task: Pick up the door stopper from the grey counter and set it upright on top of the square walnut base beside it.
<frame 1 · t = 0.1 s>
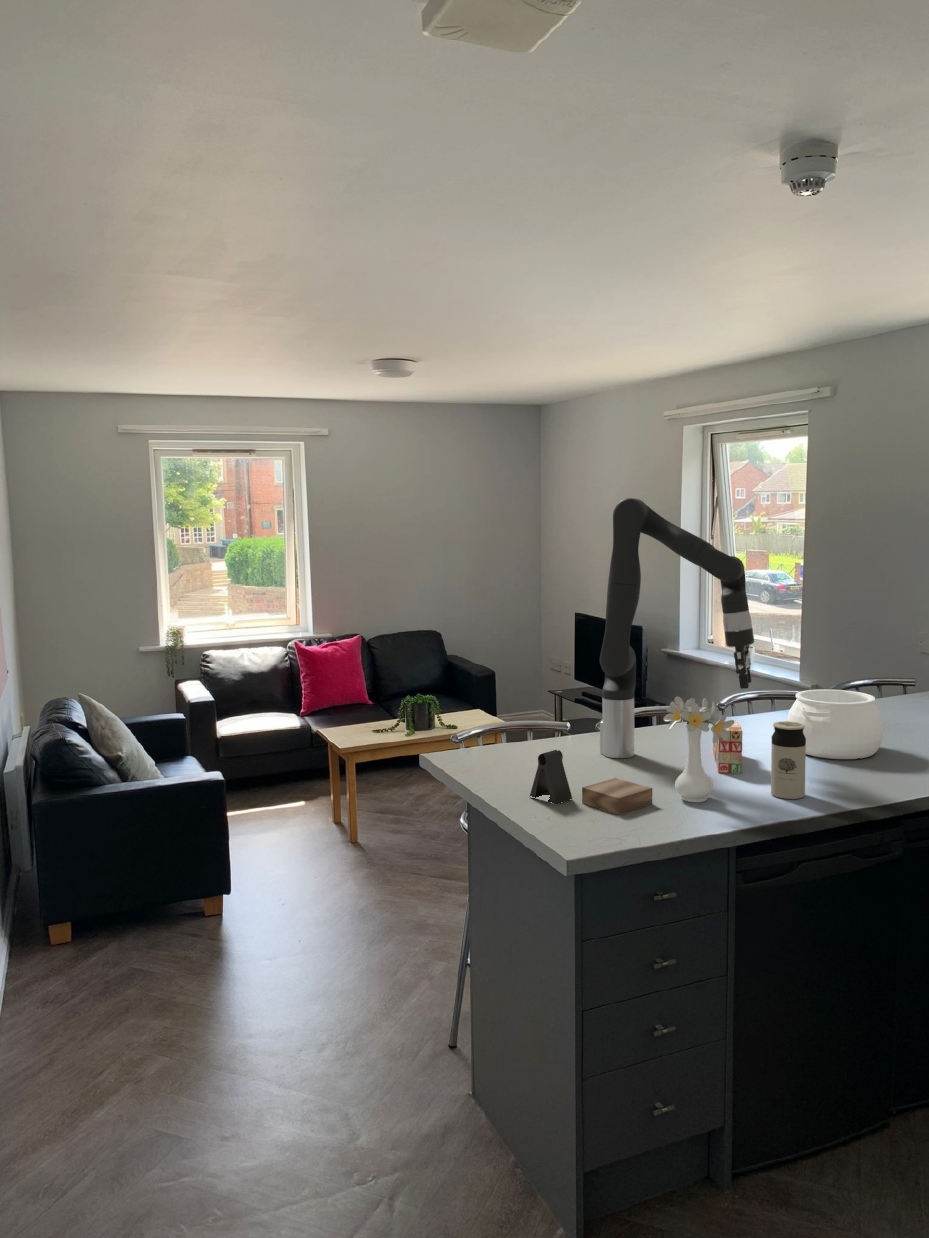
hand: (746, 685, 252), 23 cm above the worktop, tool pointing down, fingers open, 8 cm apart
travel mug: (787, 795, 226), on the worktop
walnut base: (617, 803, 223), on the worktop
pot: (833, 751, 267), on the worktop
door stopper: (550, 799, 228), on the worktop
flower vase: (697, 800, 225), on the worktop
stack of blocks: (726, 764, 257), on the worktop
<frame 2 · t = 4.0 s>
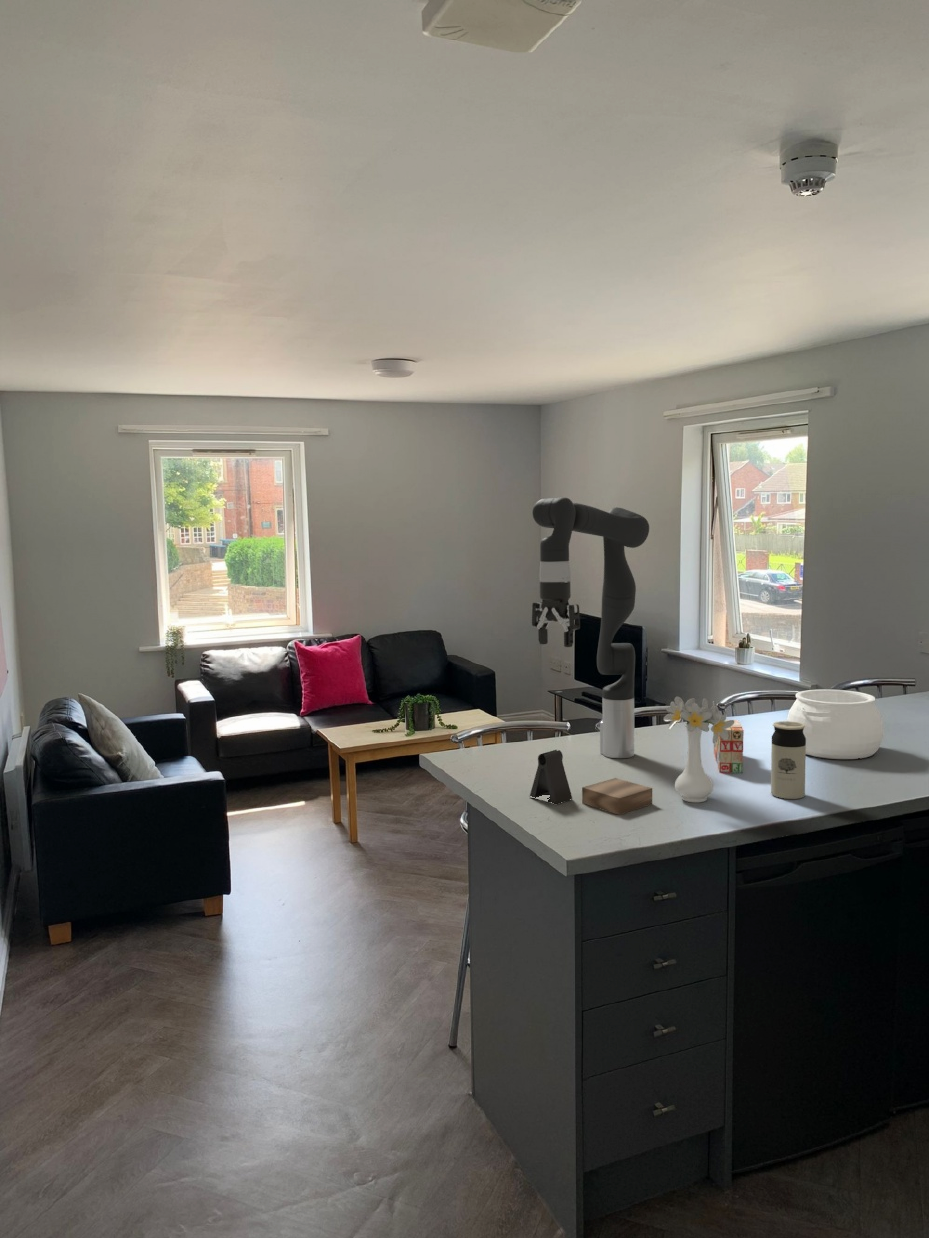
hand: (555, 645, 224), 39 cm above the worktop, tool pointing down, fingers open, 8 cm apart
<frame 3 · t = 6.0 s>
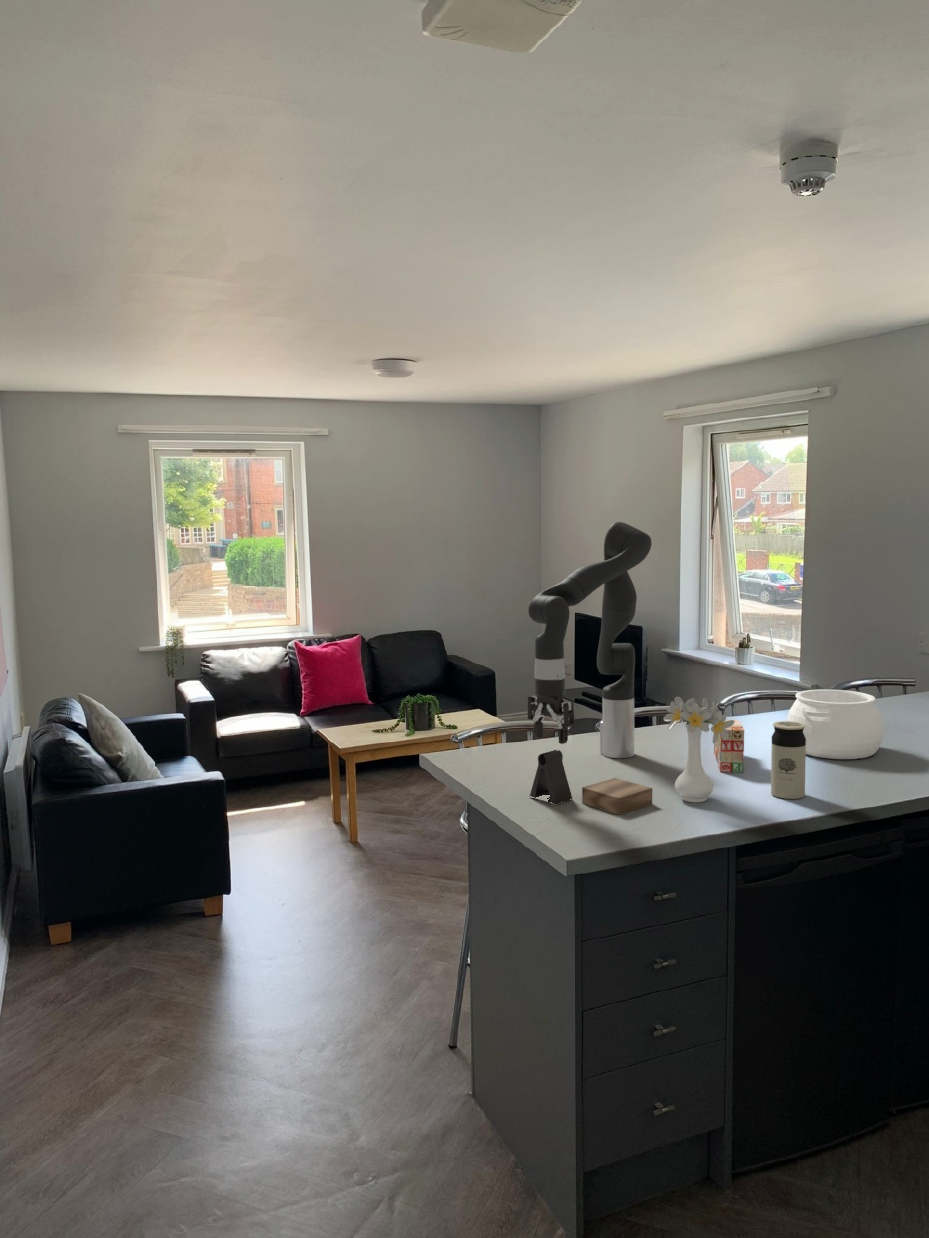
hand: (550, 740, 226), 15 cm above the worktop, tool pointing down, fingers open, 8 cm apart
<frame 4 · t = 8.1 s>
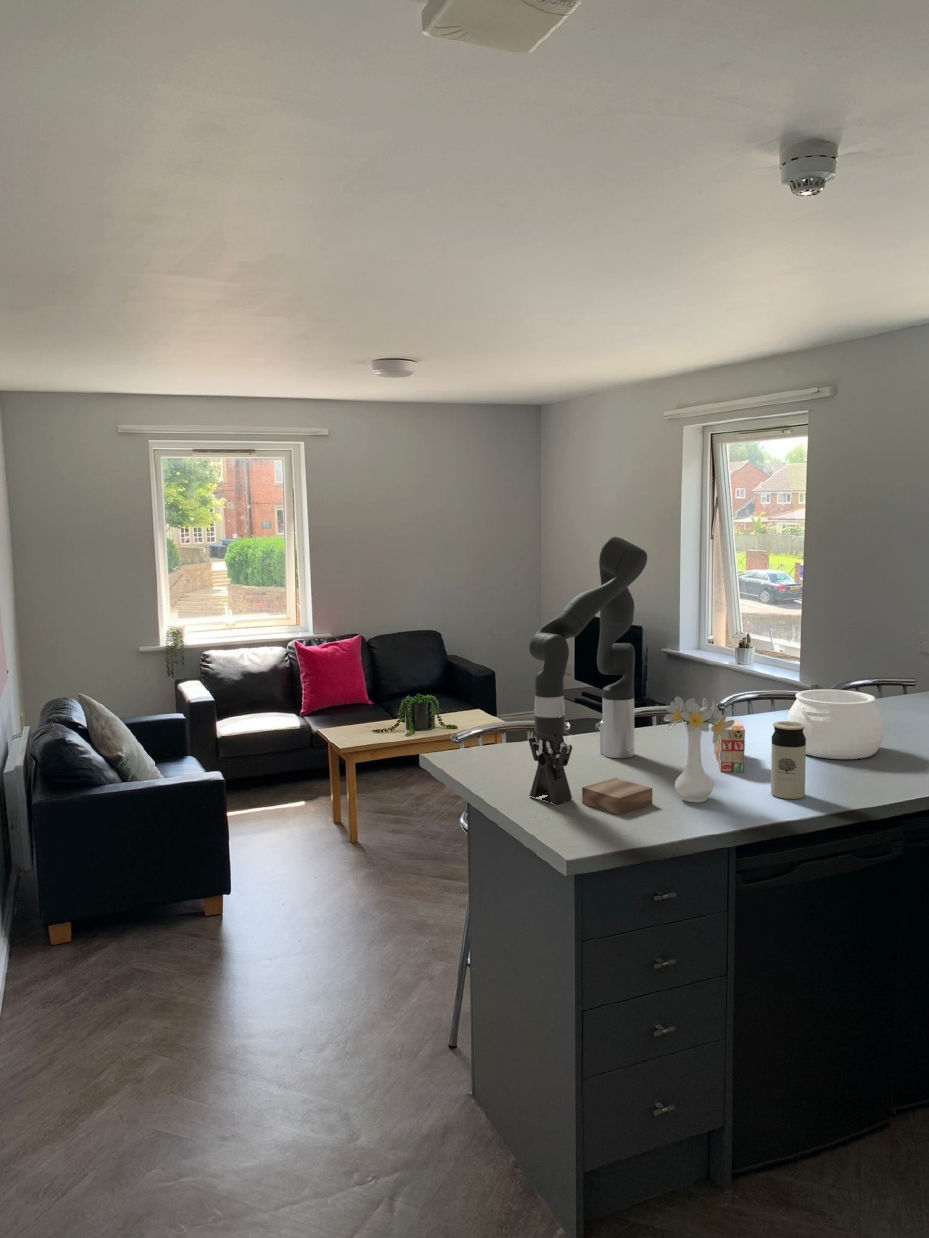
hand: (550, 780, 228), 5 cm above the worktop, tool pointing down, fingers closed on door stopper, 3 cm apart
door stopper: (550, 799, 228), on the worktop, touching gripper
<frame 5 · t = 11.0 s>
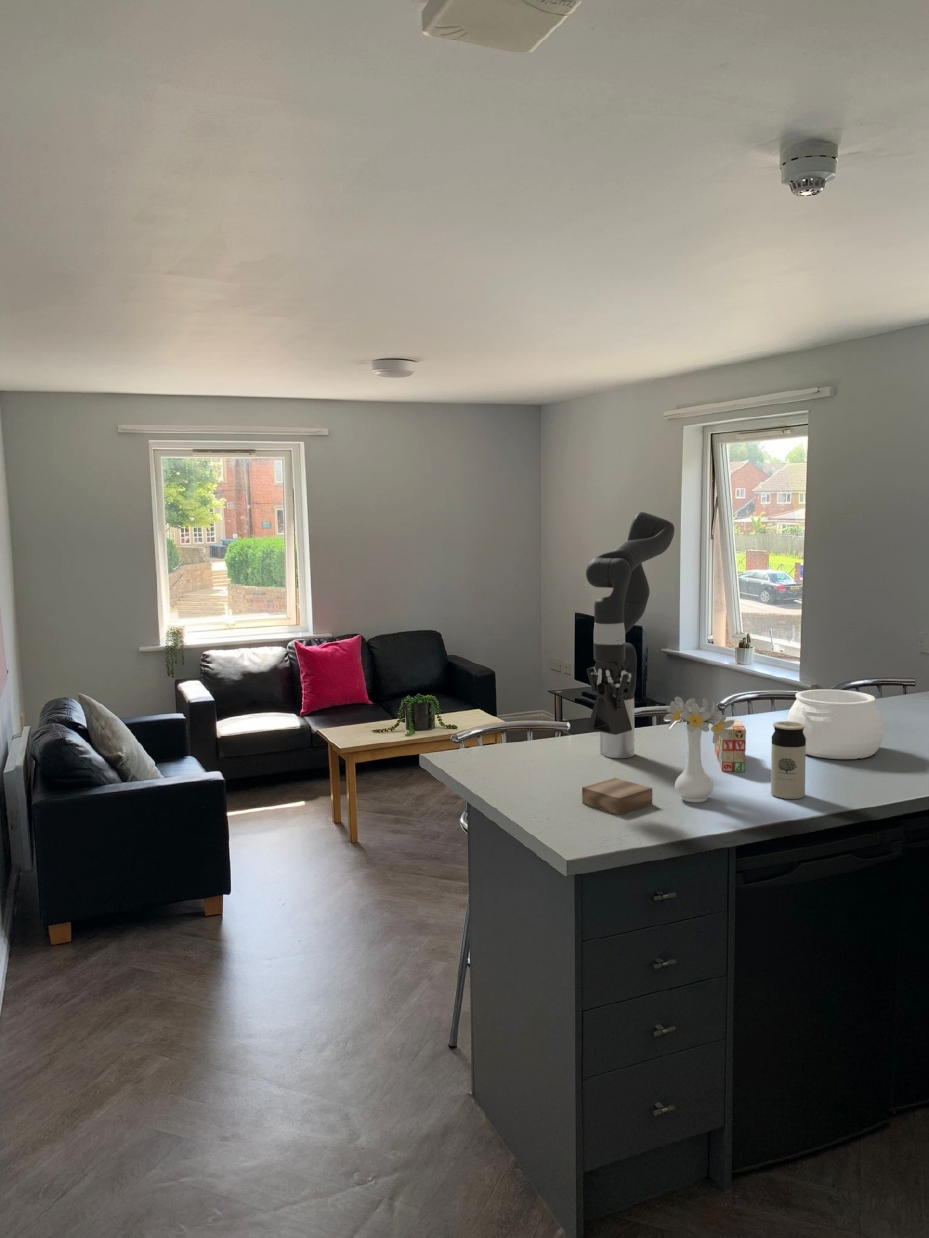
hand: (609, 710, 221), 23 cm above the worktop, tool pointing down, fingers closed on door stopper, 3 cm apart
door stopper: (609, 730, 221), point 18 cm above the worktop, touching gripper
when the fingers open (10 cm above the worktop, at t = 14.3 s): door stopper drops 1 cm, resting on walnut base.
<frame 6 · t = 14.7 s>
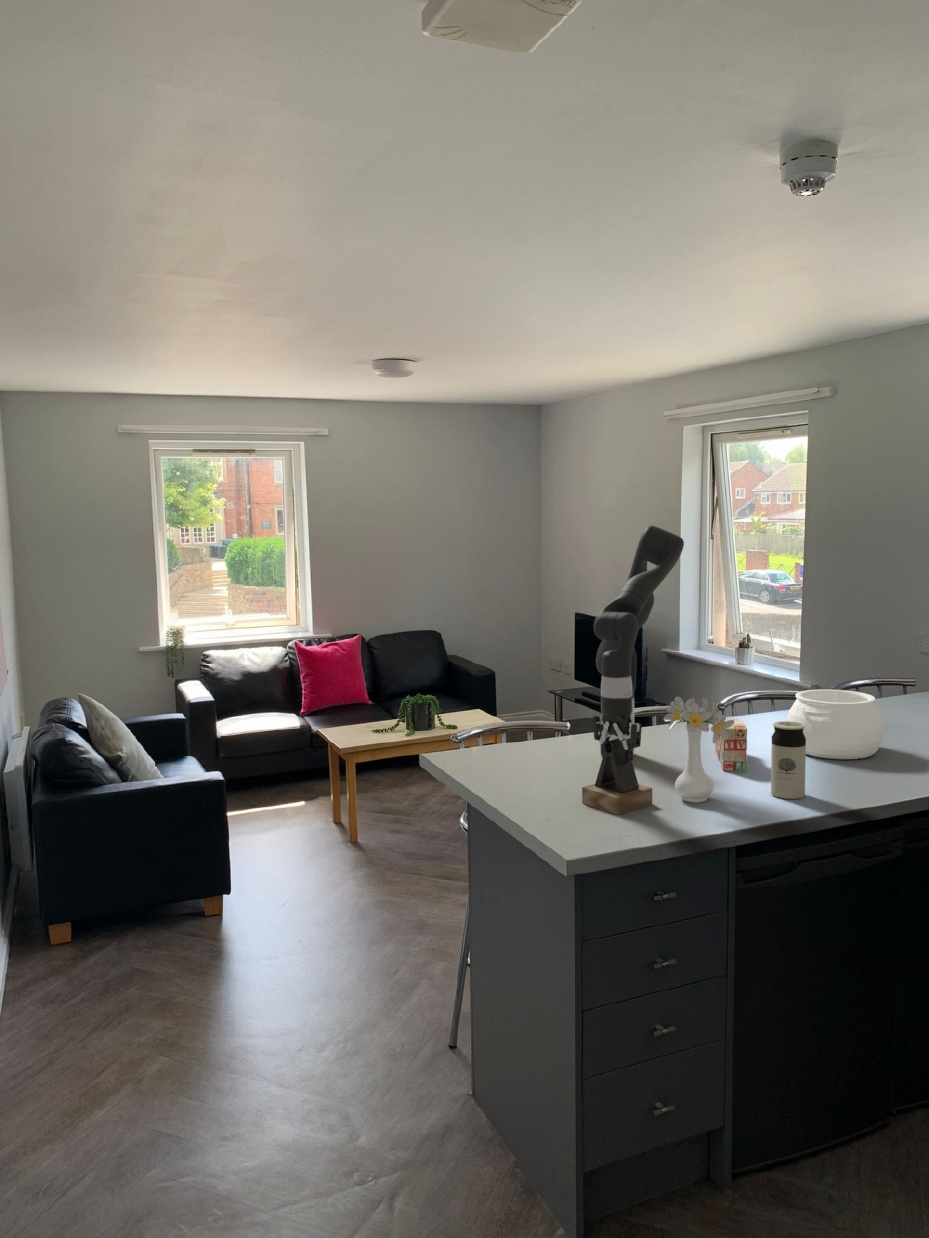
hand: (616, 761, 222), 11 cm above the worktop, tool pointing down, fingers open, 6 cm apart
door stopper: (616, 788, 222), point 4 cm above the worktop, touching walnut base
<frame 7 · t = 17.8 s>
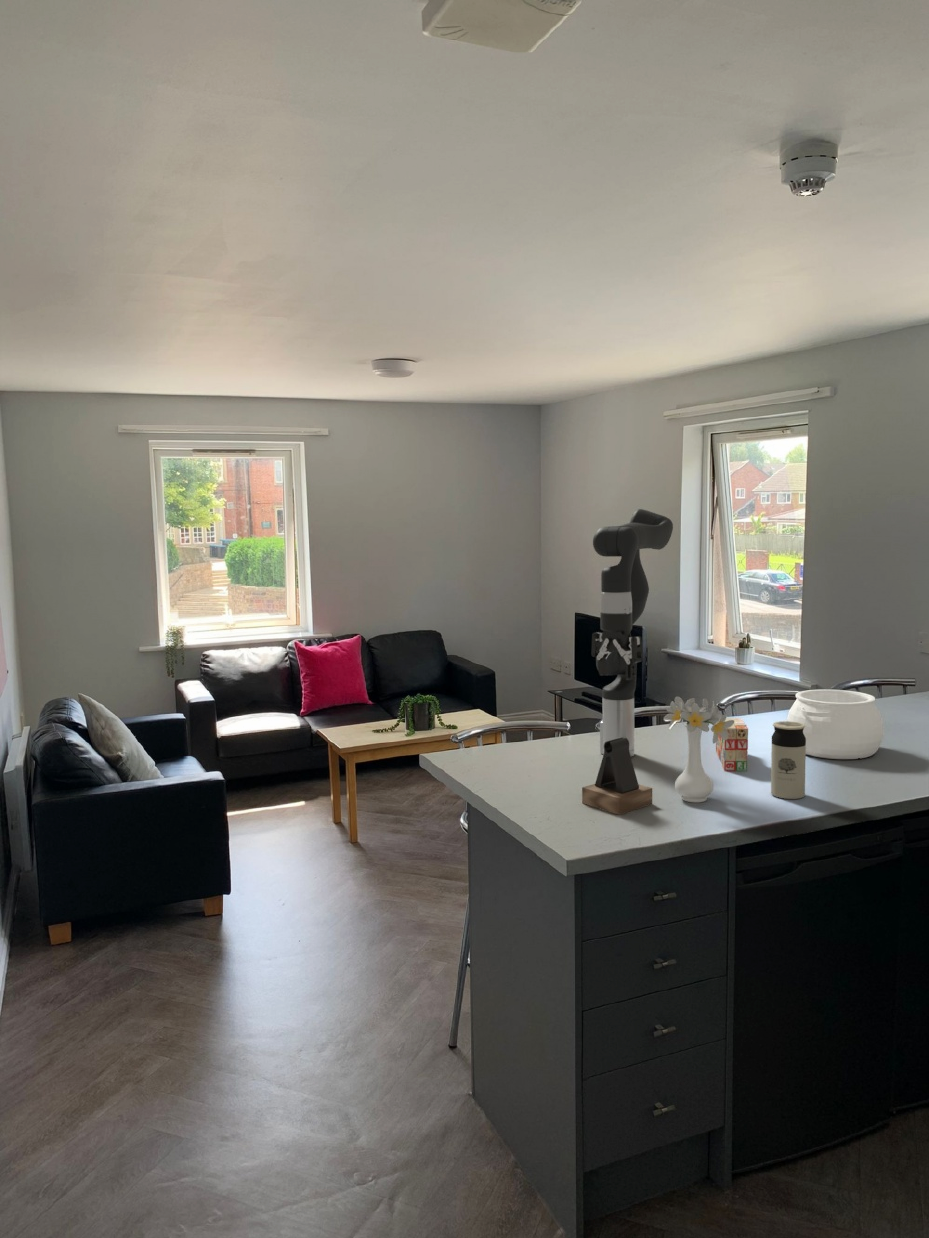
hand: (616, 677, 219), 31 cm above the worktop, tool pointing down, fingers open, 8 cm apart
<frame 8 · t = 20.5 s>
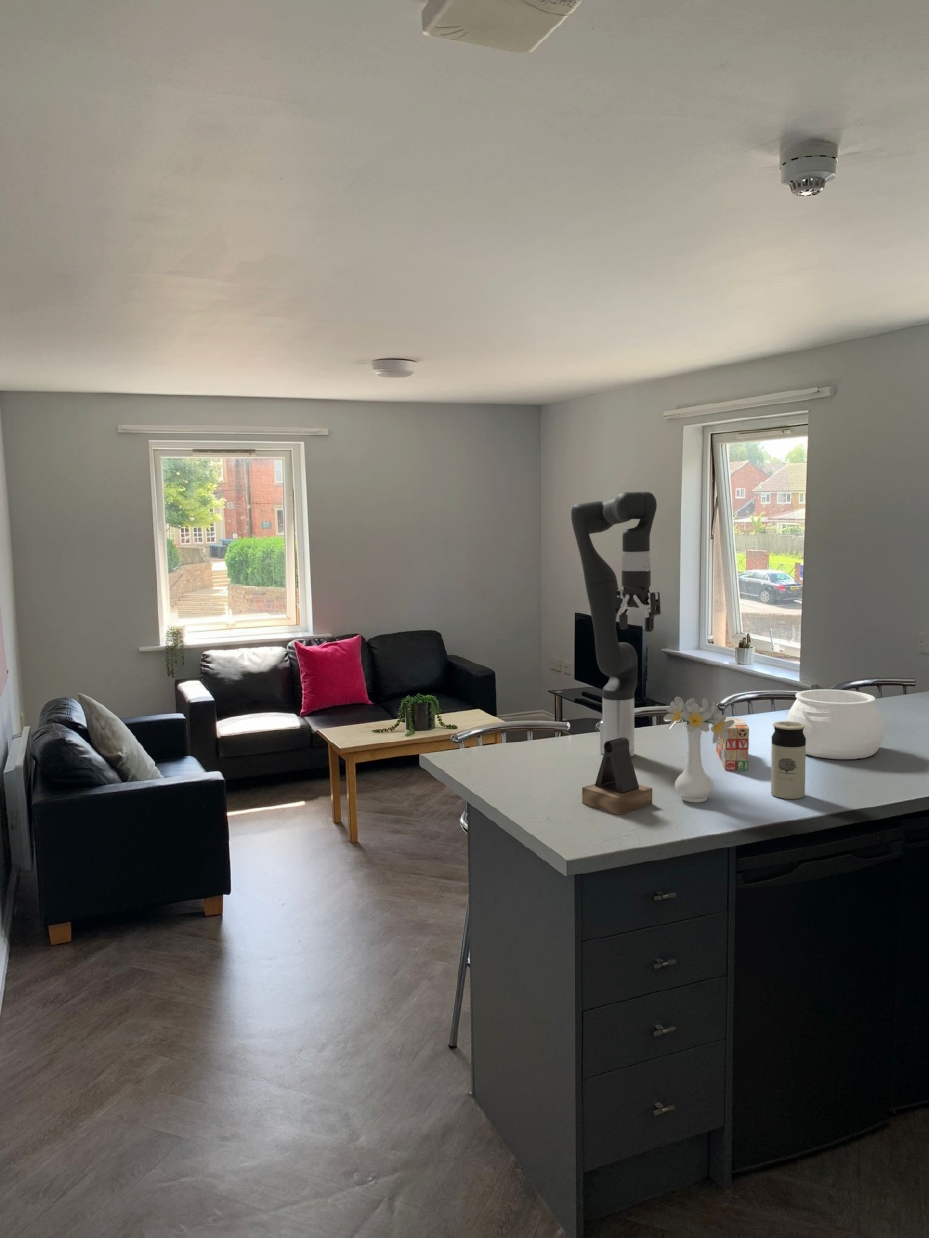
hand: (636, 630, 239), 40 cm above the worktop, tool pointing down, fingers open, 8 cm apart
at the end: door stopper inside the target area on the walnut base (0.1 cm from its centre), point 3.8 cm above the walnut base's base; door stopper tilted 0°; the gripper is holding nothing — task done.
